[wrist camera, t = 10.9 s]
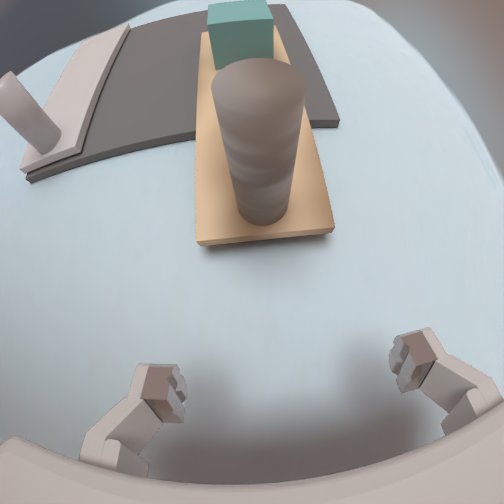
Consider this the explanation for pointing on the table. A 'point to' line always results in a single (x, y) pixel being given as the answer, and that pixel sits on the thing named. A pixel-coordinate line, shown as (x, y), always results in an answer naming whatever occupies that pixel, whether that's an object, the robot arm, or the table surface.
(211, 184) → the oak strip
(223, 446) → the table surface
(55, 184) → the table surface
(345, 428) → the table surface
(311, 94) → the lane mat
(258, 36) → the teal block
